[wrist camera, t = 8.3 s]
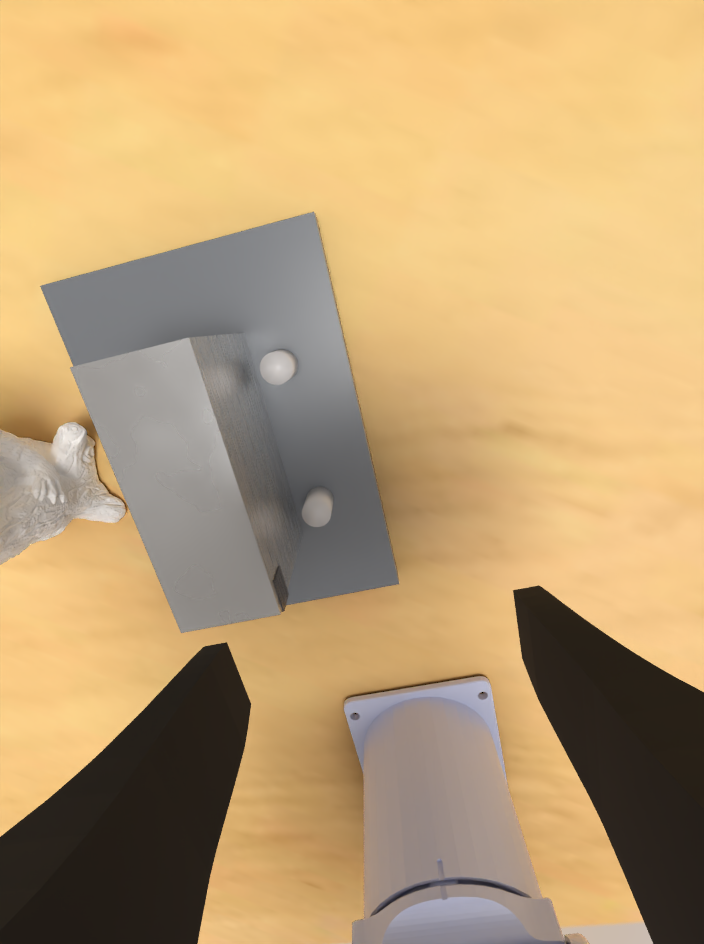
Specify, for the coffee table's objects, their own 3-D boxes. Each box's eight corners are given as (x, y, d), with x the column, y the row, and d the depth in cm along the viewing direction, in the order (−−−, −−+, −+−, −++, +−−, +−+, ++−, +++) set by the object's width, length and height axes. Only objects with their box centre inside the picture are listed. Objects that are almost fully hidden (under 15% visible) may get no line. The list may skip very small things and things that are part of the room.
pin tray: (397, 572, 22) (402, 604, 20) (188, 612, 23) (167, 646, 21) (316, 218, 17) (309, 200, 15) (57, 287, 18) (9, 282, 16)
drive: (304, 535, 21) (282, 616, 15) (230, 550, 21) (180, 635, 15) (245, 332, 18) (190, 337, 12) (160, 353, 18) (68, 367, 12)
